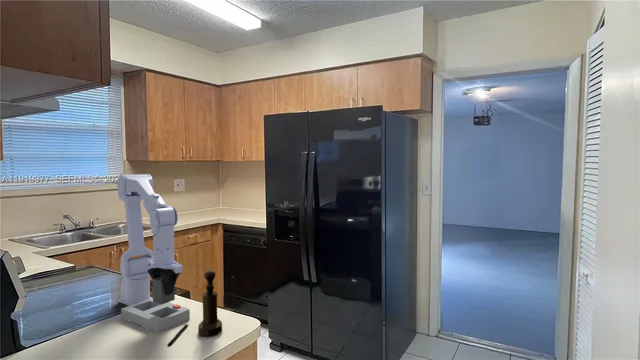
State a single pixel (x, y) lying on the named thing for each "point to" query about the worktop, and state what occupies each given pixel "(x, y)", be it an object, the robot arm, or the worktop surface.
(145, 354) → the worktop surface
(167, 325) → the socket plate
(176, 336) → the thin black rod
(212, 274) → the dark brown pepper mill
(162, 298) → the plug
